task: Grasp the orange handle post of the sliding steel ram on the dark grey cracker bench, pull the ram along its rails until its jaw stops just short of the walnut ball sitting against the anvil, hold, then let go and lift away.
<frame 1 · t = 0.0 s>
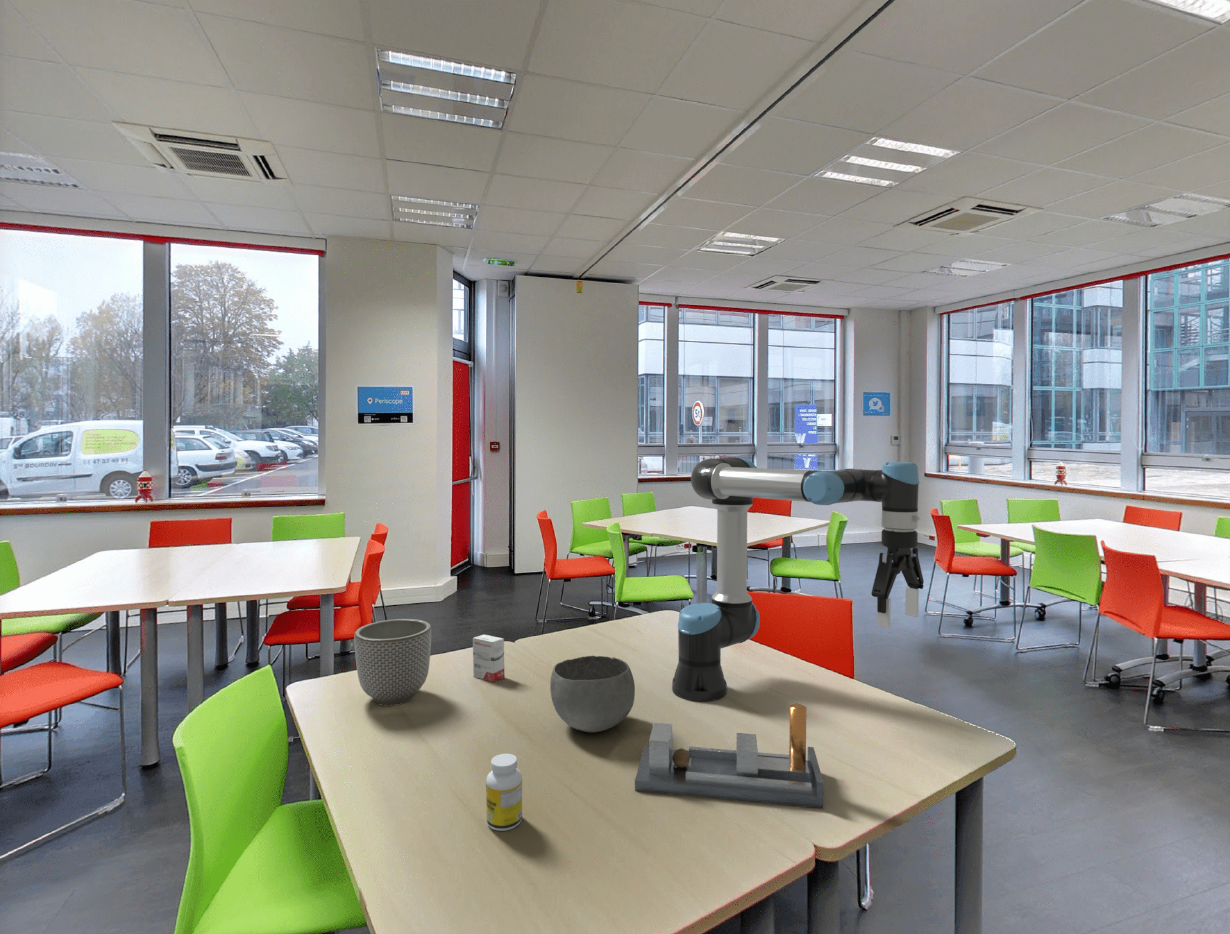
hand: (897, 621, 144), 28 cm above the table, fingers open, 13 cm apart
ram handle: (772, 739, 126), point 9 cm above the table, slide at 0.0 cm
pill bottle: (504, 822, 114), on the table
bowl: (593, 726, 153), on the table
walnut: (681, 766, 130), point 2 cm above the table, touching cracker bench
planter: (394, 698, 170), on the table
cracker bench: (726, 780, 128), on the table
ink box: (489, 677, 185), on the table
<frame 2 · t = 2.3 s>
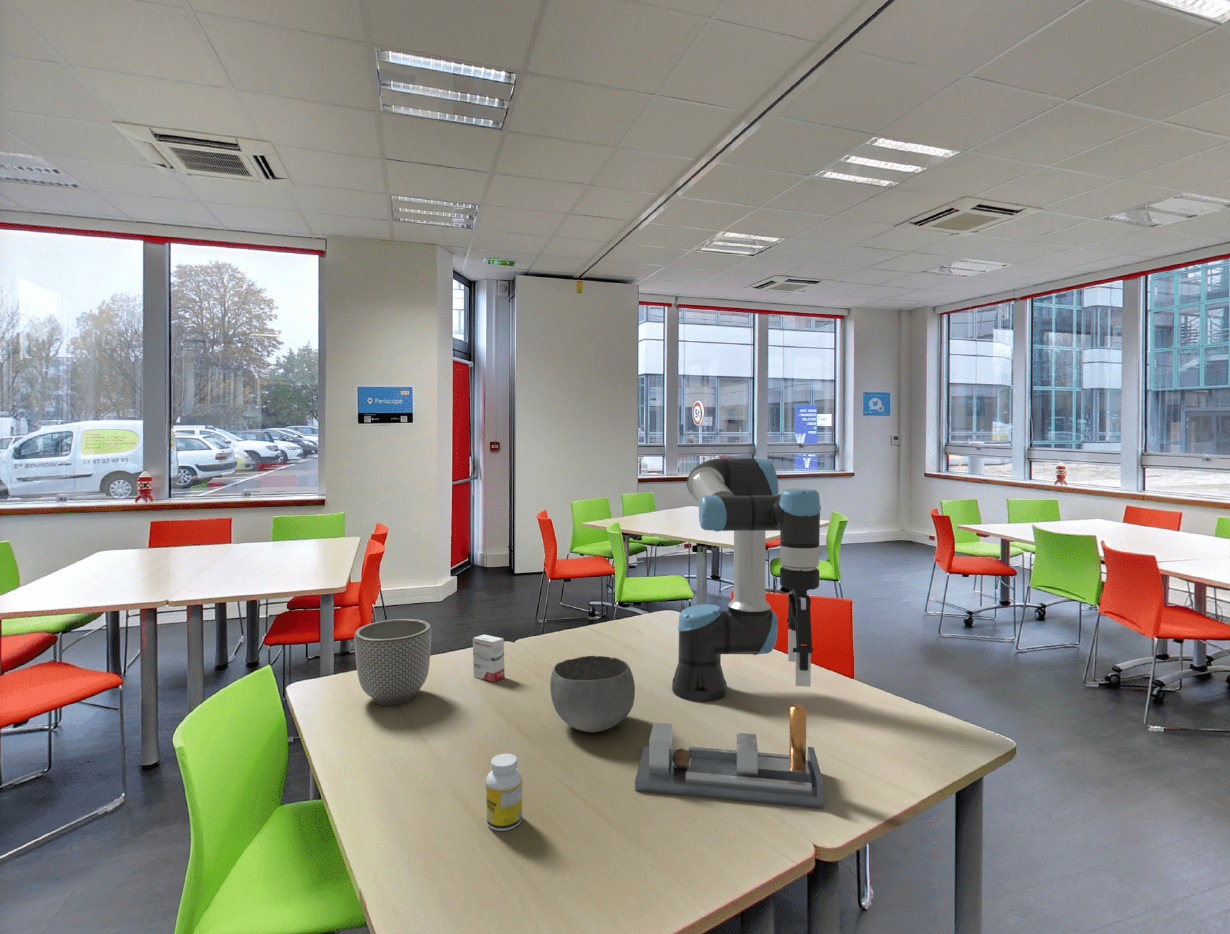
hand: (798, 673, 124), 23 cm above the table, fingers open, 13 cm apart
nothing on the table moved.
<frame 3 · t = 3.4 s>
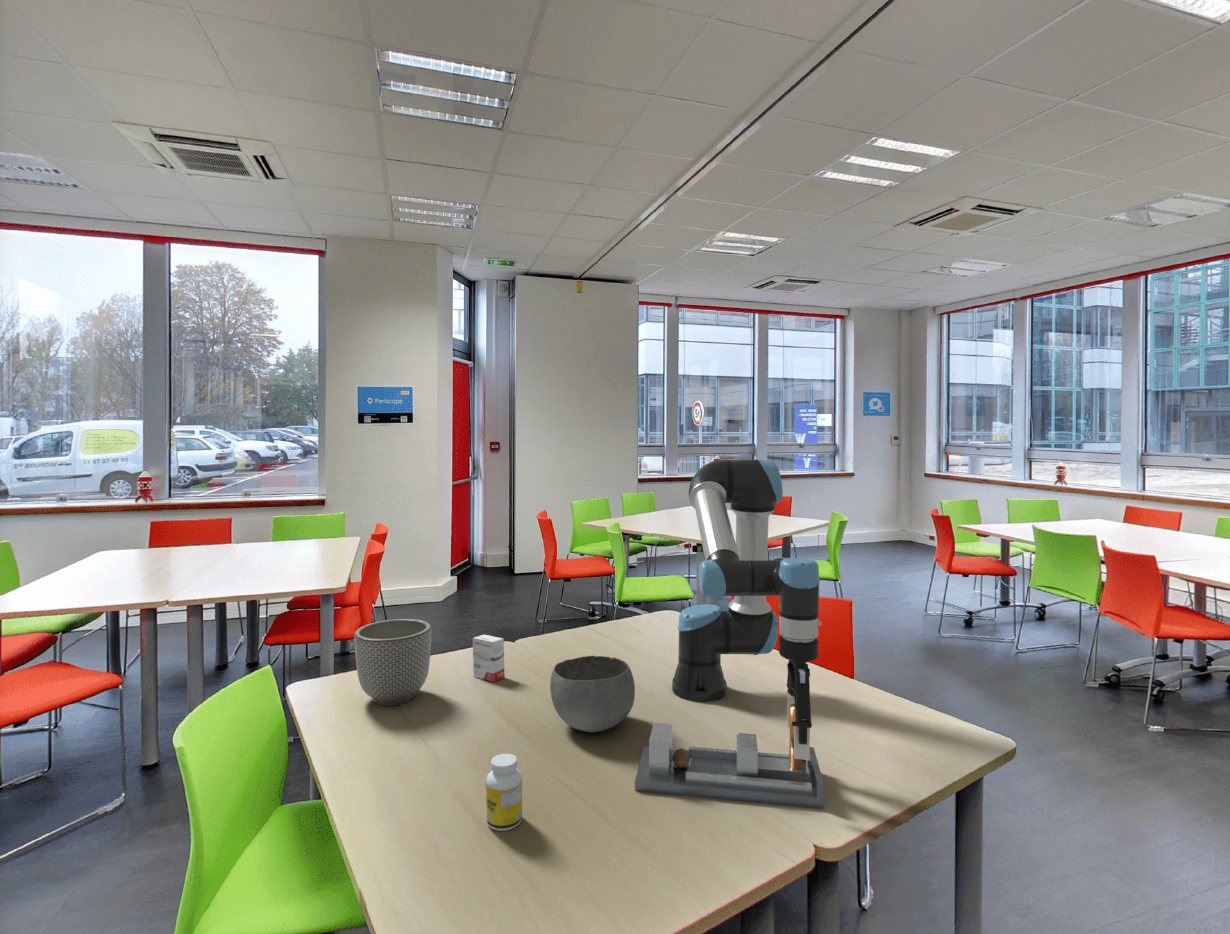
hand: (797, 742, 125), 9 cm above the table, fingers open, 13 cm apart
nothing on the table moved.
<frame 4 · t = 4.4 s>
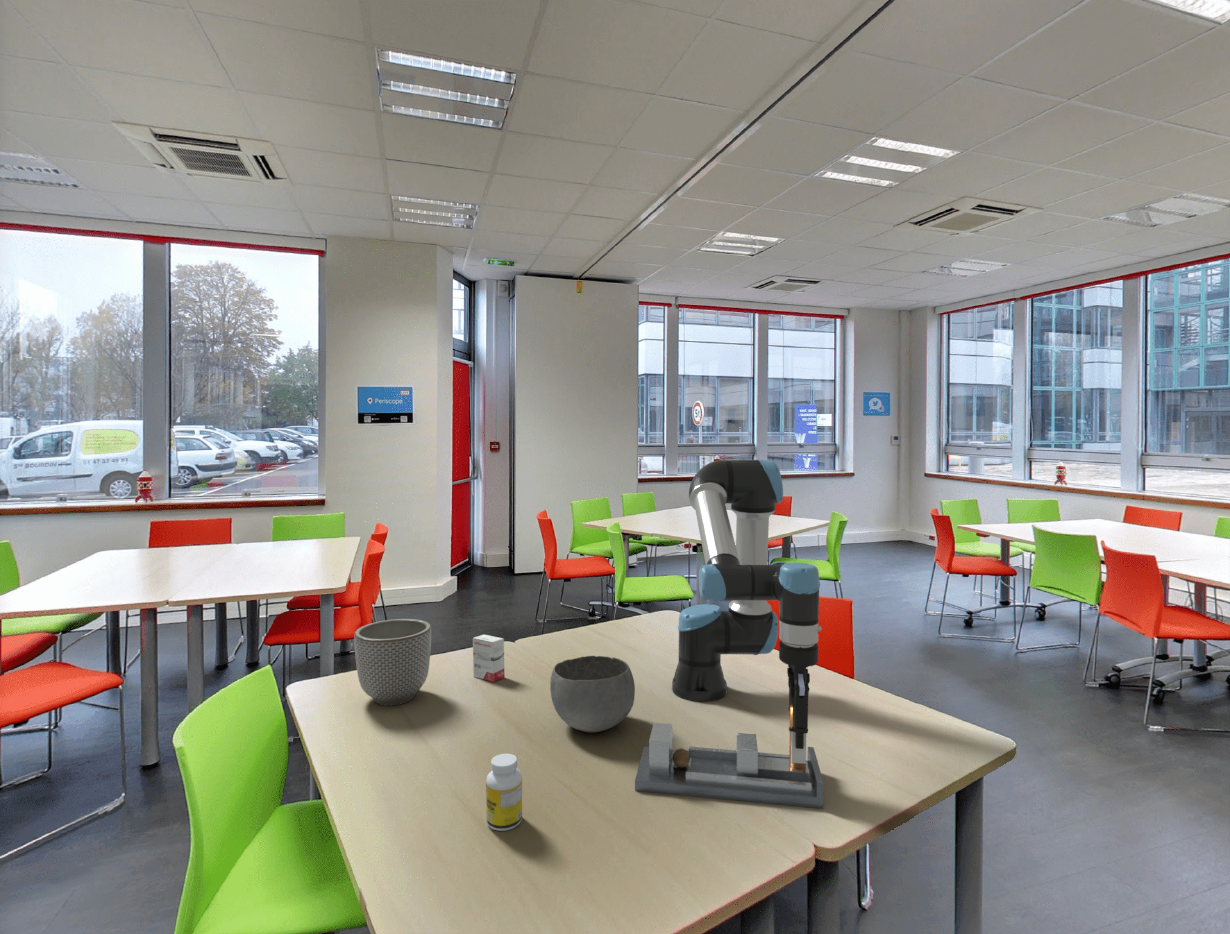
hand: (797, 757, 125), 6 cm above the table, fingers closed on ram handle, 3 cm apart
ram handle: (772, 739, 126), point 9 cm above the table, slide at 0.0 cm, touching gripper
everything else where it was.
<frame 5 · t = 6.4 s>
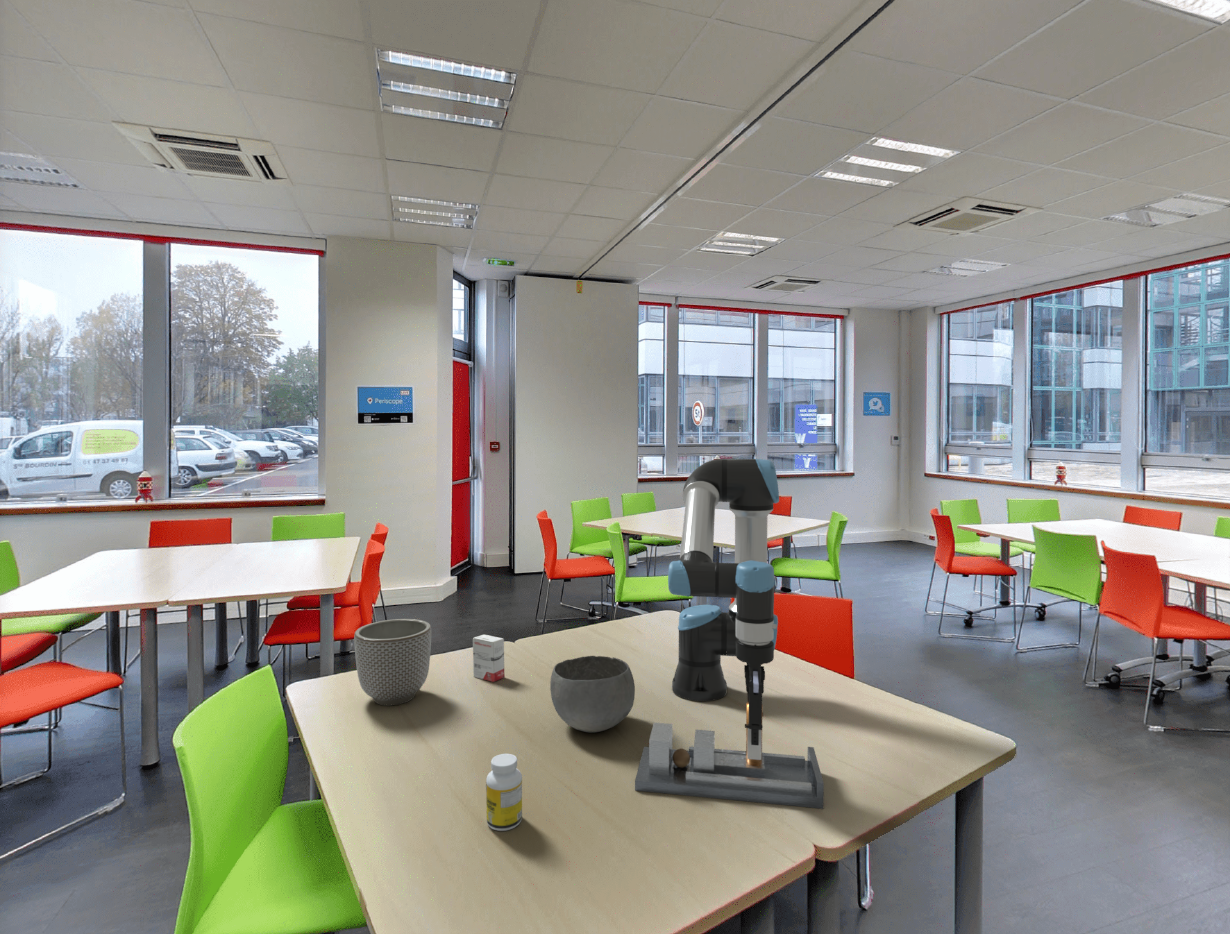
hand: (753, 753, 127), 6 cm above the table, fingers closed on ram handle, 3 cm apart
ram handle: (729, 735, 128), point 9 cm above the table, slide at 8.5 cm, touching gripper
everything else where it was.
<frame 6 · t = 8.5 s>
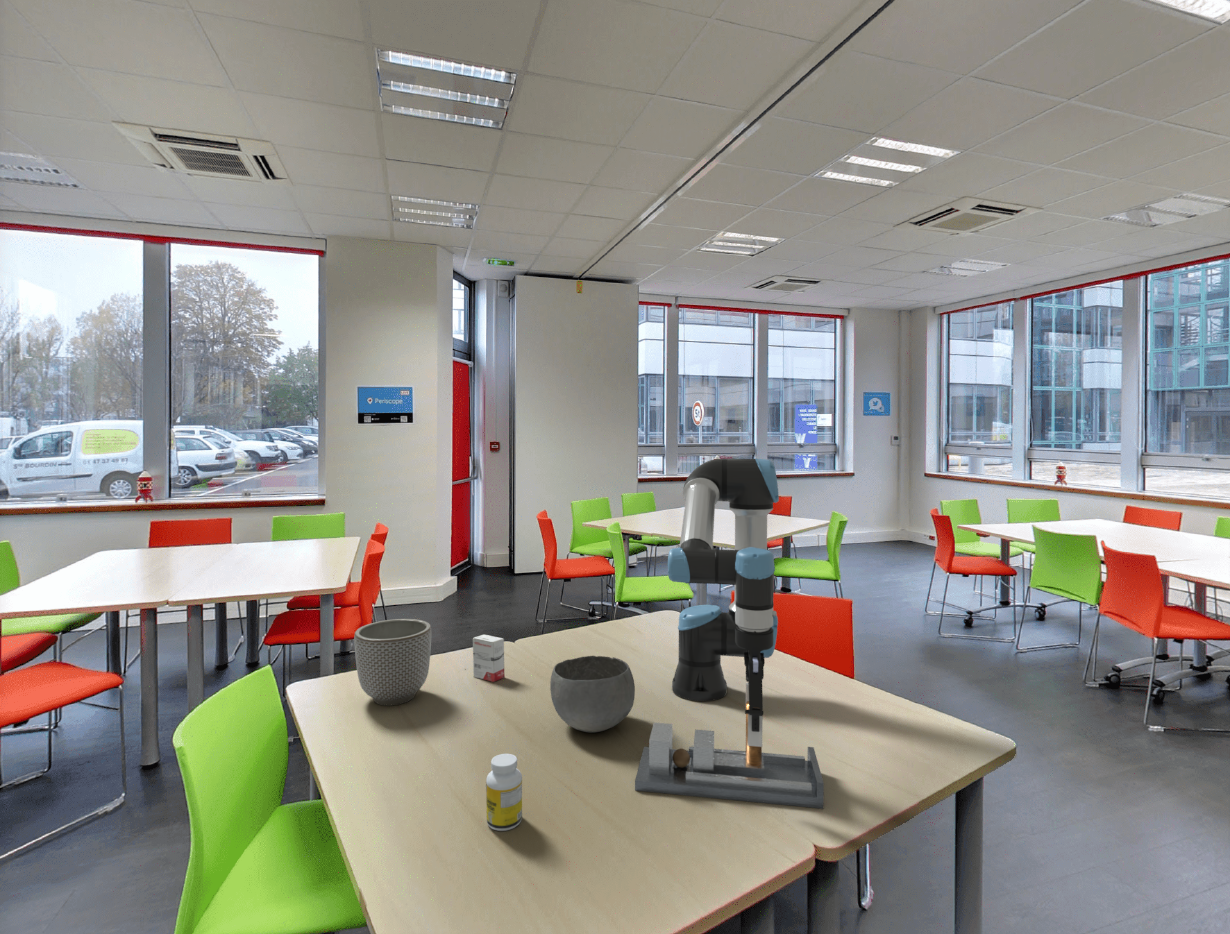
hand: (753, 728, 127), 11 cm above the table, fingers open, 13 cm apart
ram handle: (728, 735, 128), point 9 cm above the table, slide at 8.6 cm
everything else where it was.
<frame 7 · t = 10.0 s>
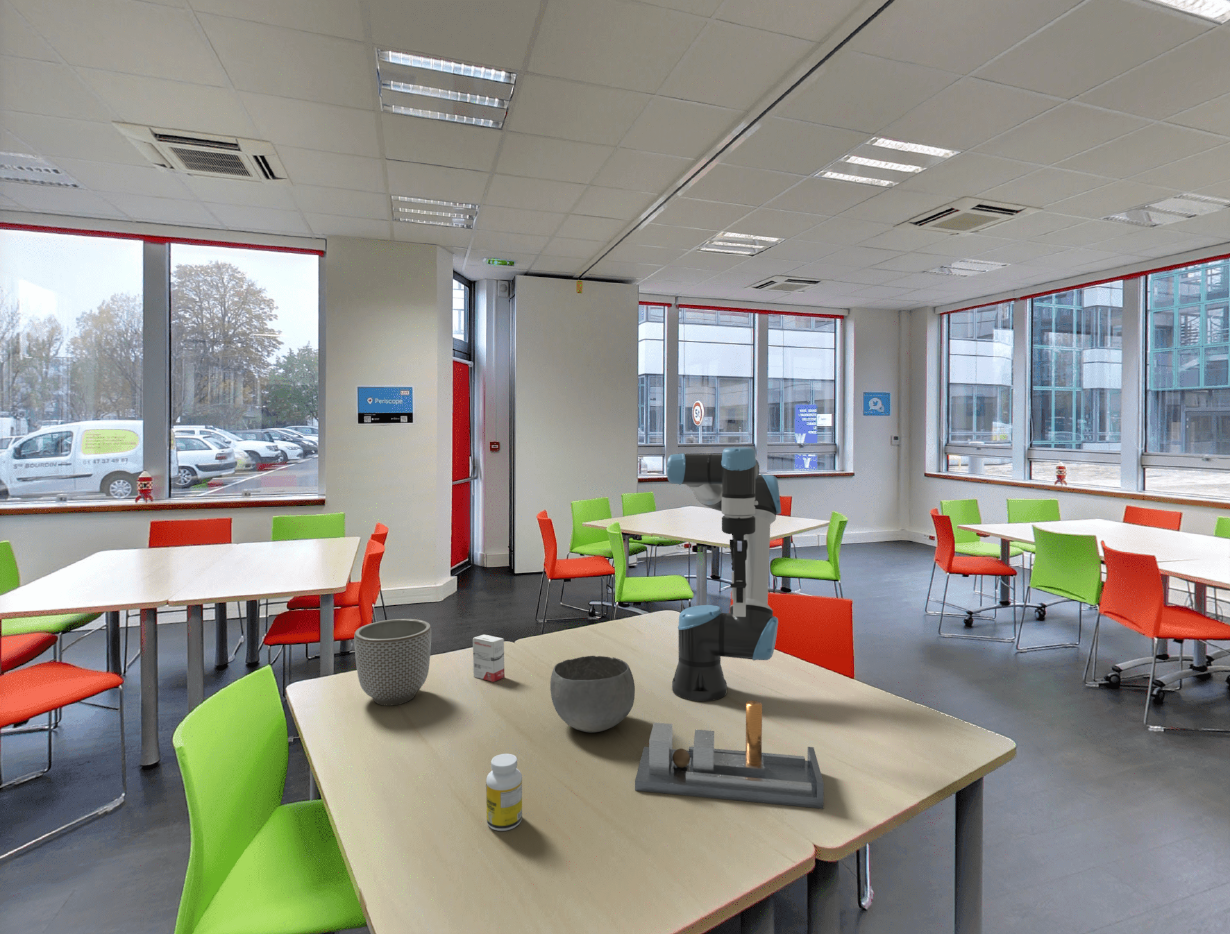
hand: (738, 607, 143), 31 cm above the table, fingers open, 13 cm apart
nothing on the table moved.
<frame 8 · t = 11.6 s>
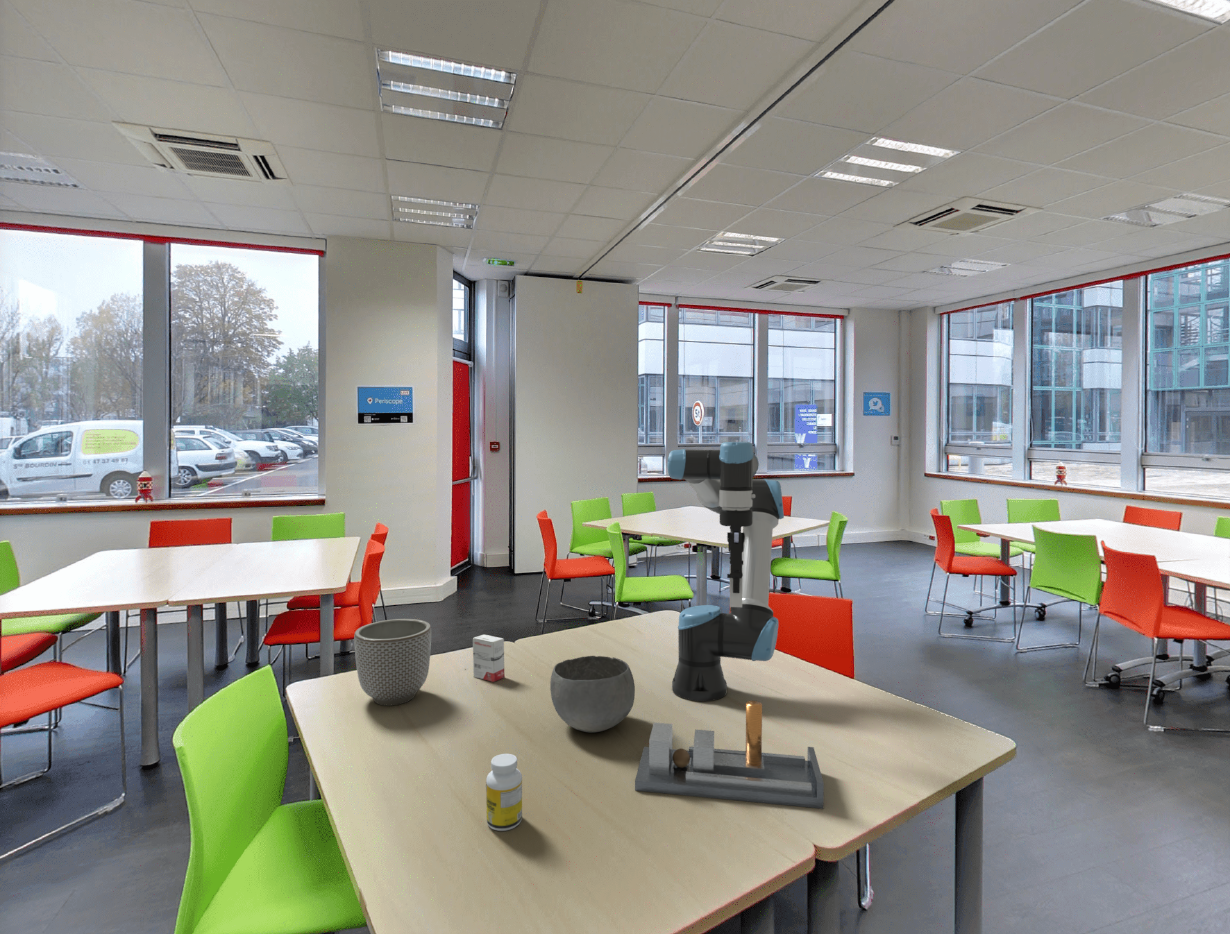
hand: (735, 599, 145), 33 cm above the table, fingers open, 13 cm apart
nothing on the table moved.
at the end: ram handle slide at 8.6 cm; walnut moved 0.1 cm from its start; the gripper is holding nothing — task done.
